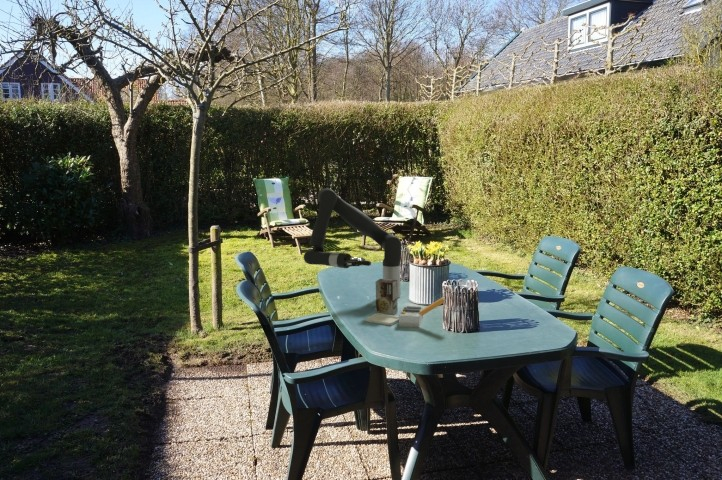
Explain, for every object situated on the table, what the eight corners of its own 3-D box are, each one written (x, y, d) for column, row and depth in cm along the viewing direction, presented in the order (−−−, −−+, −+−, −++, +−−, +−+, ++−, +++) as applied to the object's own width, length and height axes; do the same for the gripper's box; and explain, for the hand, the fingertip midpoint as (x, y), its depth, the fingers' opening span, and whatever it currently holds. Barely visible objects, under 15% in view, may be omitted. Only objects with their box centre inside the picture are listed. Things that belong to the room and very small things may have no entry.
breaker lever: (420, 310, 254) (449, 292, 250) (422, 314, 254) (452, 296, 250) (419, 312, 251) (449, 294, 247) (421, 316, 251) (451, 297, 247)
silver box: (403, 317, 265) (403, 305, 264) (422, 318, 263) (422, 306, 262) (398, 326, 252) (398, 313, 251) (419, 327, 250) (419, 314, 249)
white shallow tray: (377, 315, 269) (377, 312, 269) (402, 319, 262) (402, 317, 261) (365, 321, 260) (365, 318, 260) (391, 325, 253) (391, 323, 253)
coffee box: (398, 312, 274) (397, 279, 271) (393, 315, 268) (393, 282, 265) (380, 310, 277) (380, 278, 275) (375, 313, 272) (375, 281, 269)
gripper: (332, 255, 276) (363, 258, 267) (347, 250, 287) (376, 253, 278) (332, 270, 277) (363, 273, 268) (347, 265, 288) (376, 268, 279)
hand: (370, 263), depth 273 cm, fingers closed
